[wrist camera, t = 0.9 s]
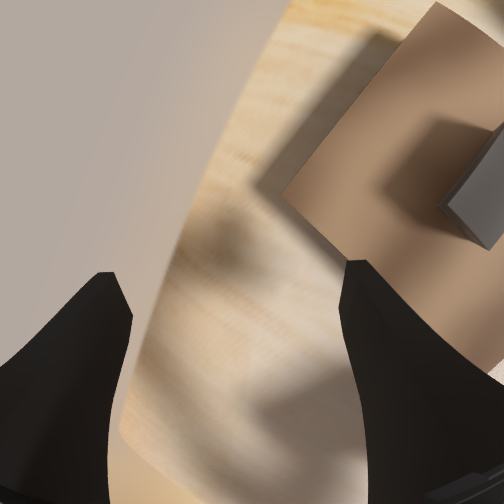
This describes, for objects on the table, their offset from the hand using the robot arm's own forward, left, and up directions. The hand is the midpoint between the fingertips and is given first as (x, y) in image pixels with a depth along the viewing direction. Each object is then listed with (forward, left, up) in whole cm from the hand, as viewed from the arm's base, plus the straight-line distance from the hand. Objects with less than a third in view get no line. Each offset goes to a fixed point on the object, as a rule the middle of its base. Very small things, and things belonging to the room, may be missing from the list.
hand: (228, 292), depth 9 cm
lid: (-4, -9, -8) cm, 13 cm away
